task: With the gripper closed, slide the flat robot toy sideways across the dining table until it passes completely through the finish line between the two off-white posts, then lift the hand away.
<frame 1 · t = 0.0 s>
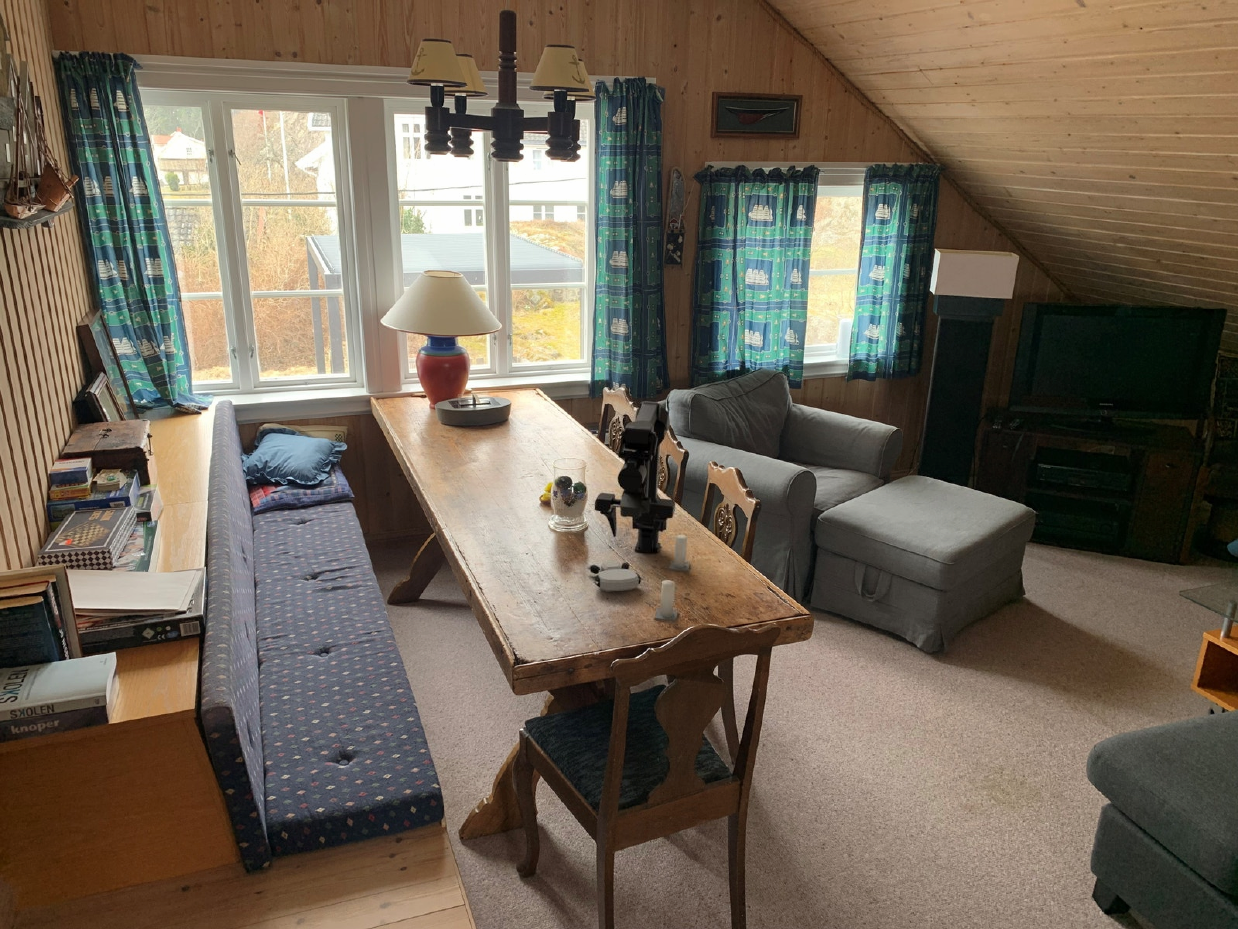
hand: (633, 538, 215), 15 cm above the table, tool pointing down, fingers open, 9 cm apart
robot toy: (614, 585, 224), on the table
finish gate: (673, 590, 222), on the table
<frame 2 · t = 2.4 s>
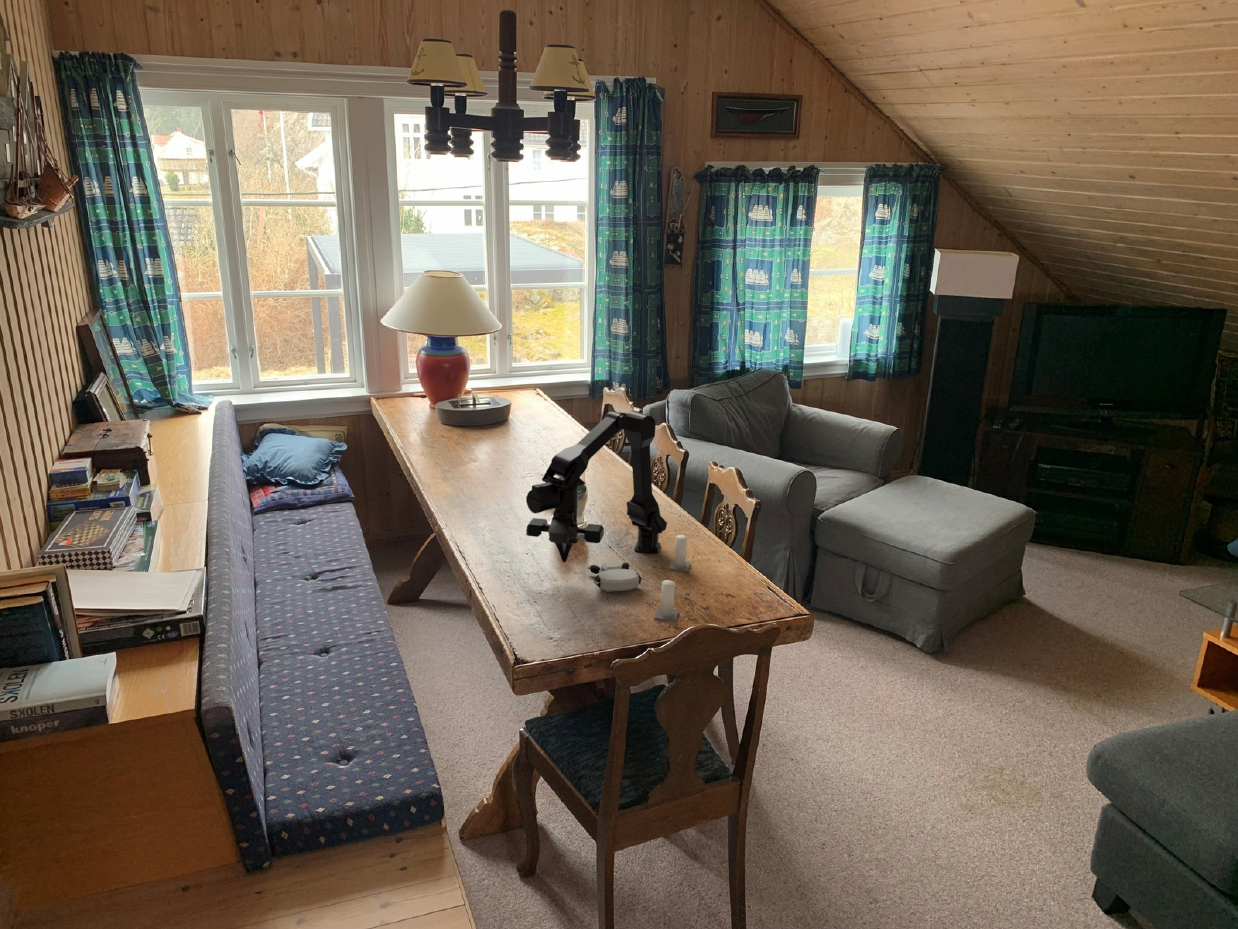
hand: (564, 561, 225), 4 cm above the table, tool pointing down, fingers closed
nothing on the table moved.
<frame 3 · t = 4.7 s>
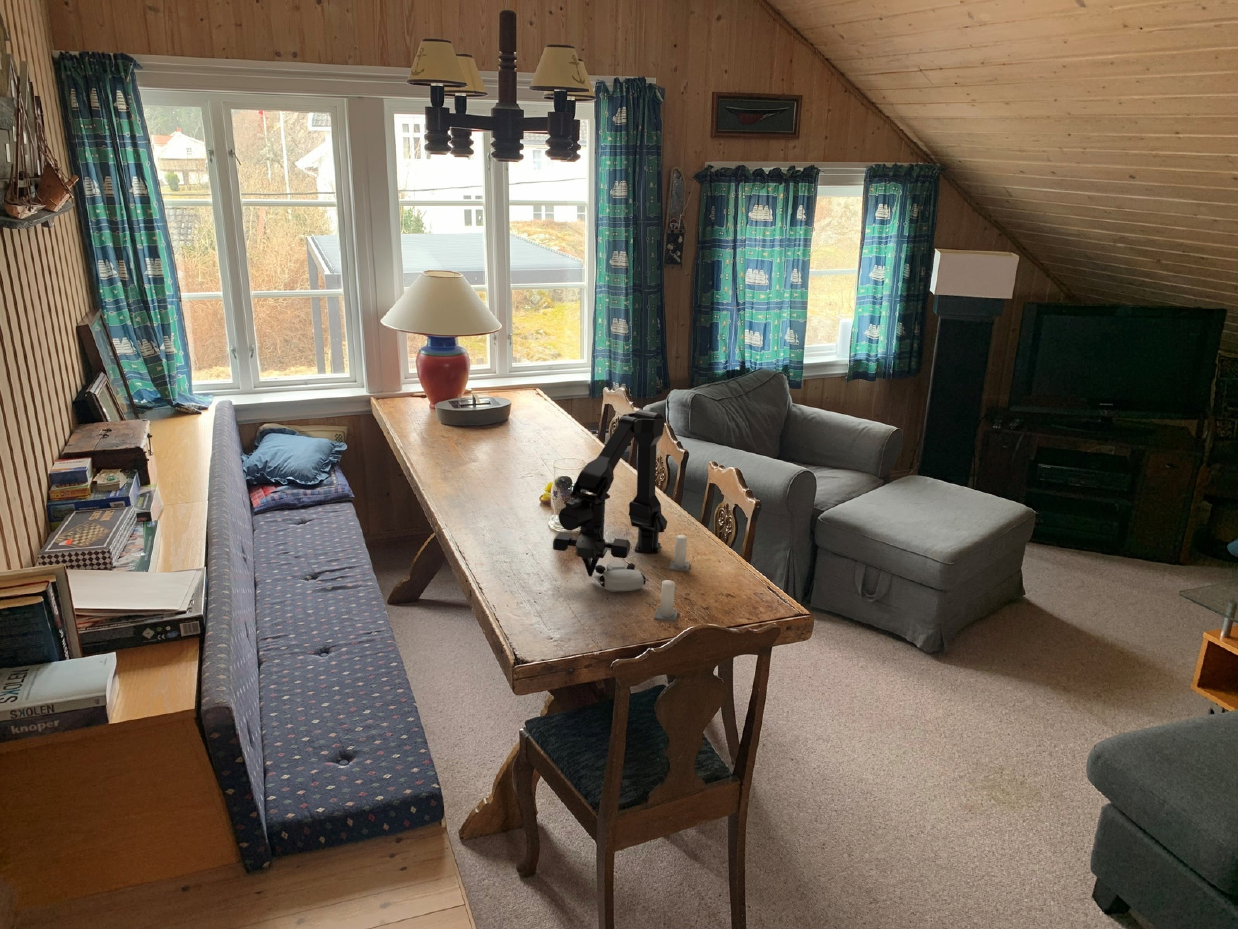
hand: (590, 576, 225), 1 cm above the table, tool pointing down, fingers closed
robot toy: (619, 585, 224), on the table, touching gripper
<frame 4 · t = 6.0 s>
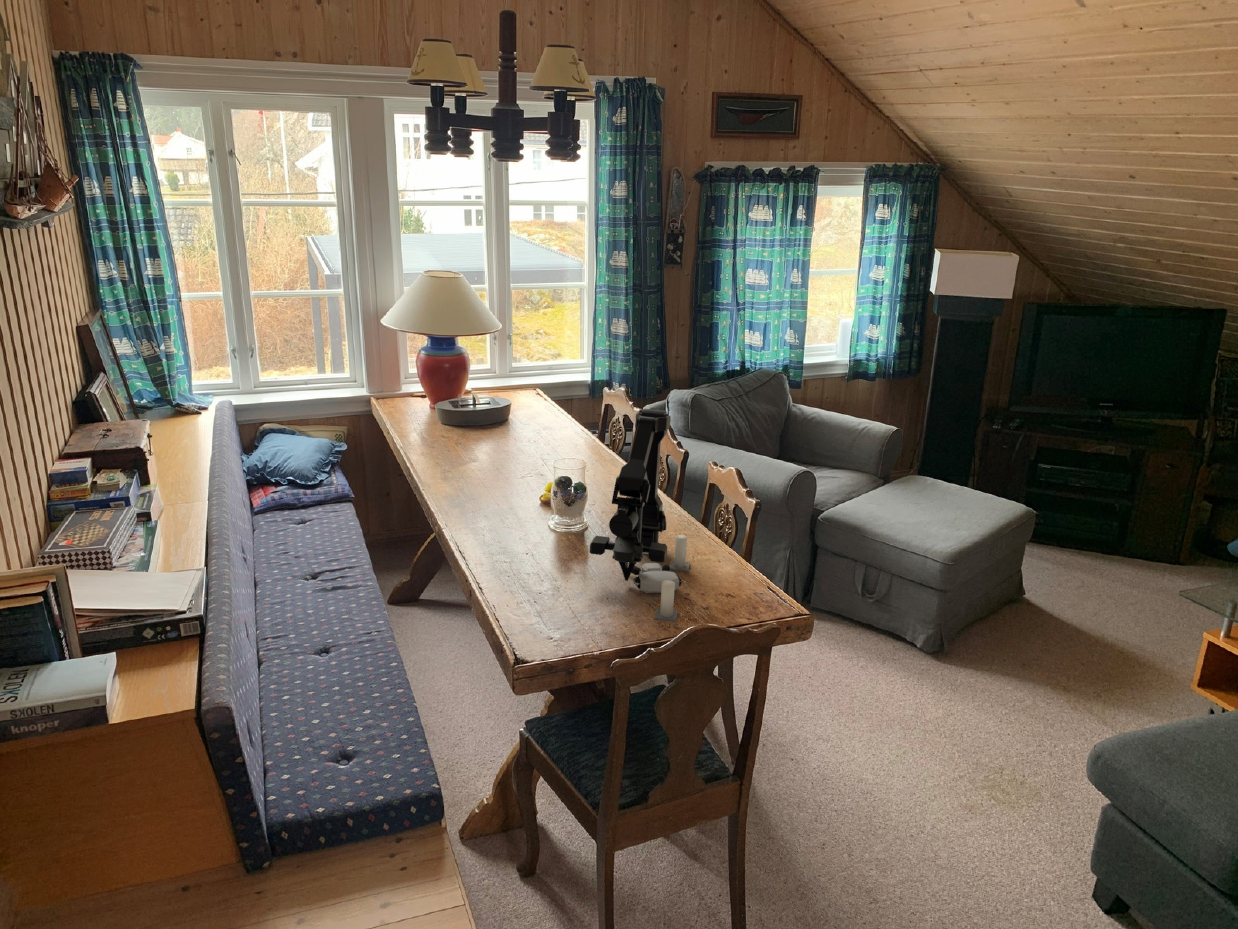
hand: (626, 580, 223), 1 cm above the table, tool pointing down, fingers closed
robot toy: (654, 586, 224), on the table
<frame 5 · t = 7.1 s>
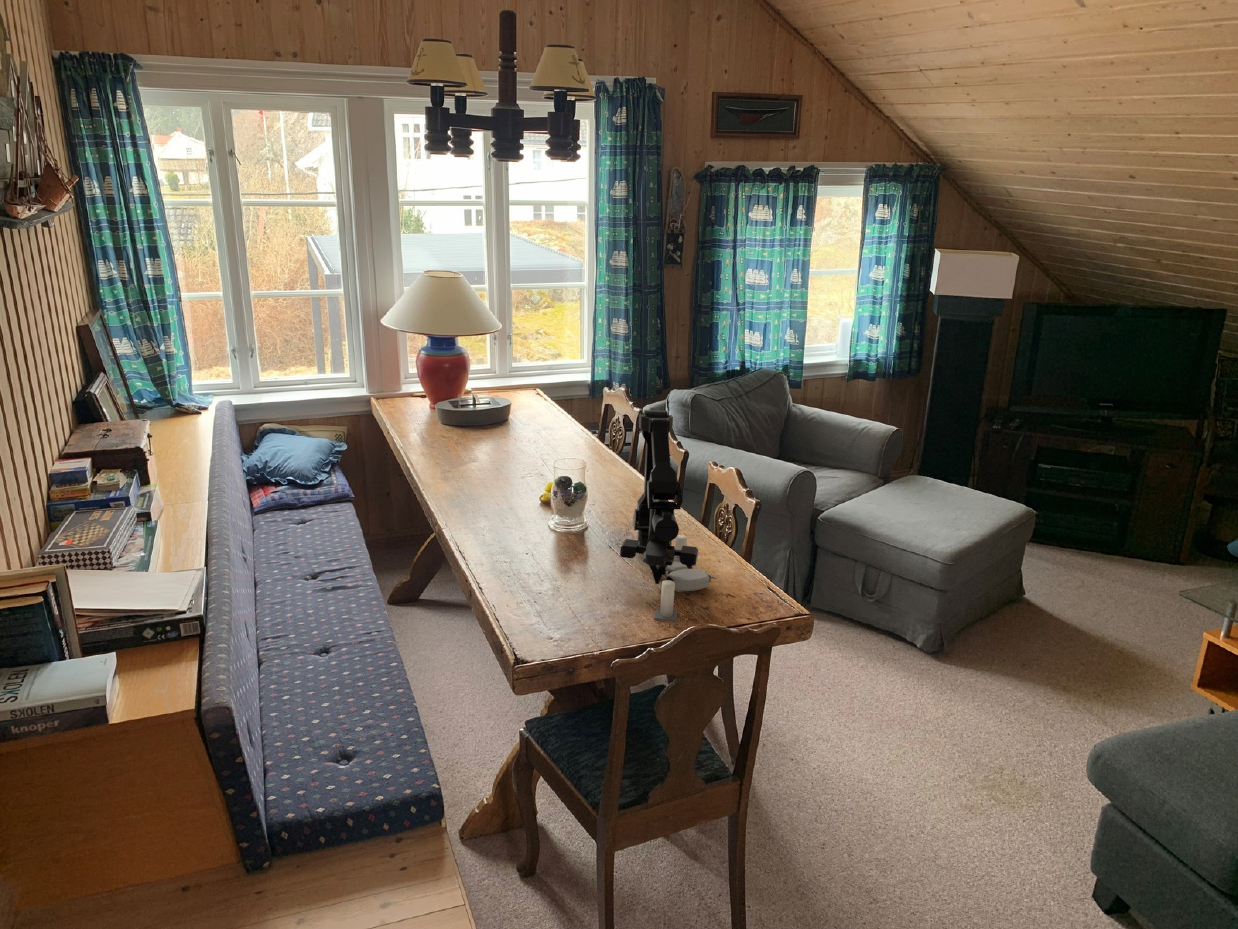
hand: (657, 583, 222), 1 cm above the table, tool pointing down, fingers closed
robot toy: (682, 585, 226), on the table, touching gripper
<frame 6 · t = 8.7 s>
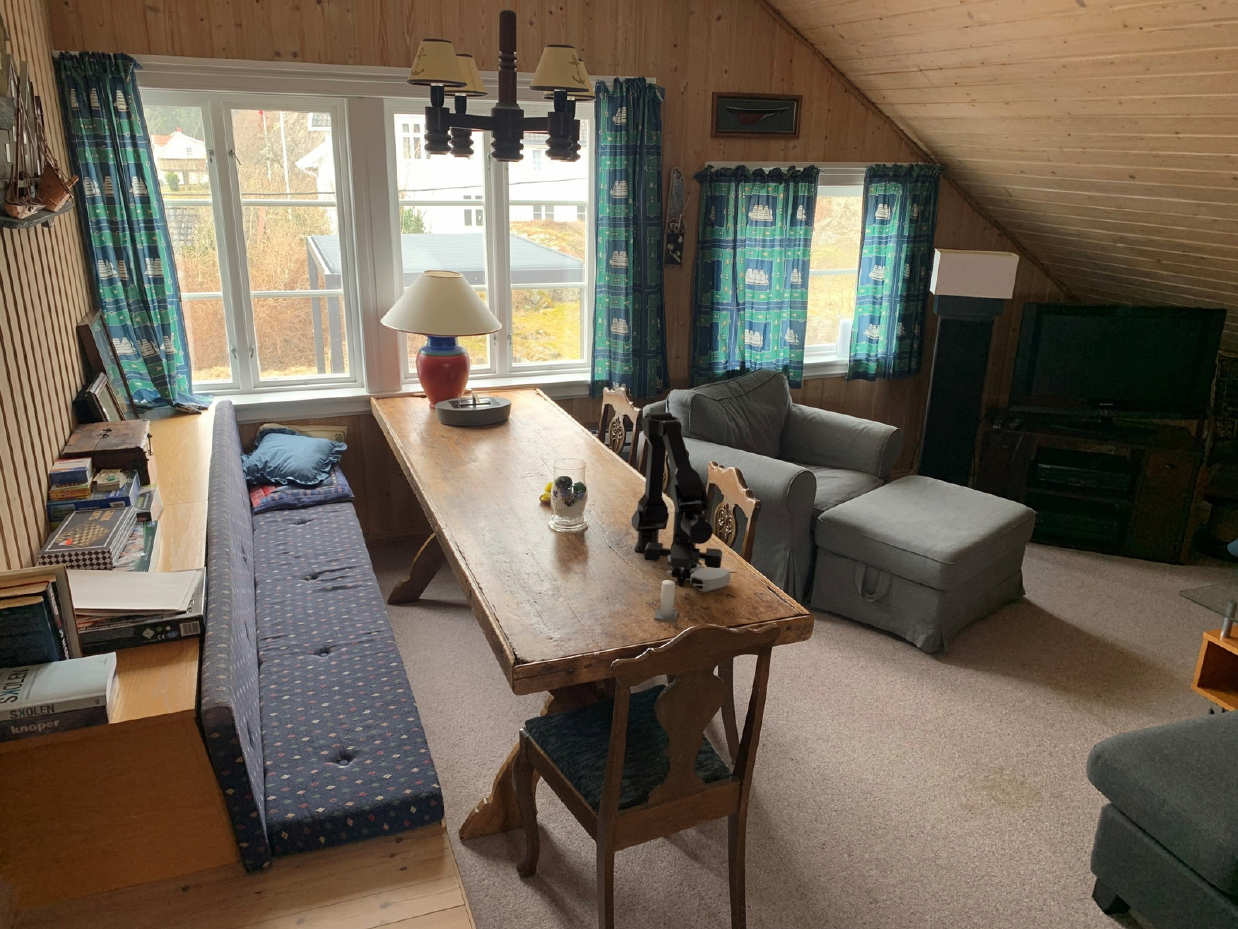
hand: (681, 586, 221), 1 cm above the table, tool pointing down, fingers closed
robot toy: (700, 584, 226), on the table, touching gripper
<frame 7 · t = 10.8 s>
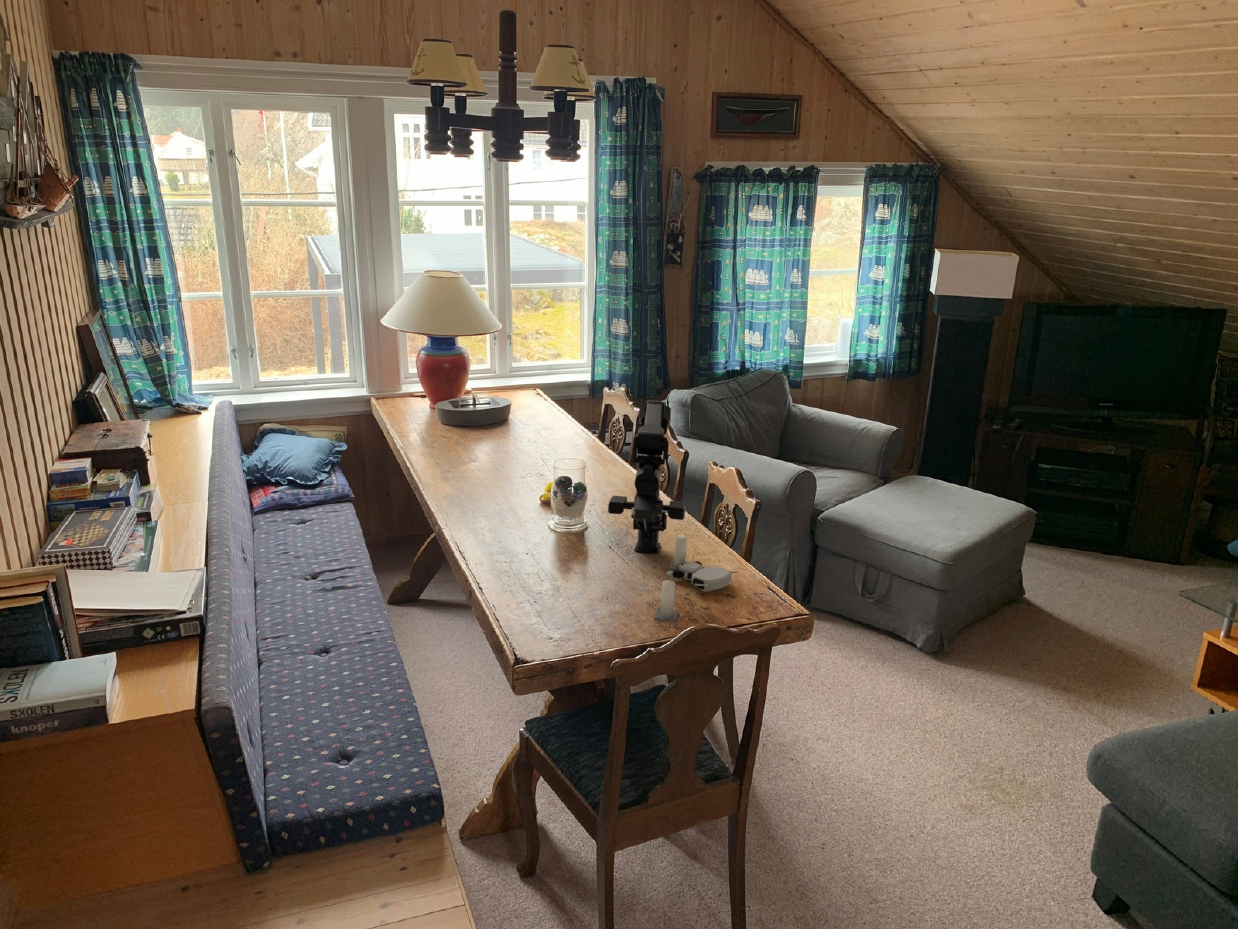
hand: (645, 539, 222), 12 cm above the table, tool pointing down, fingers closed
robot toy: (701, 584, 227), on the table
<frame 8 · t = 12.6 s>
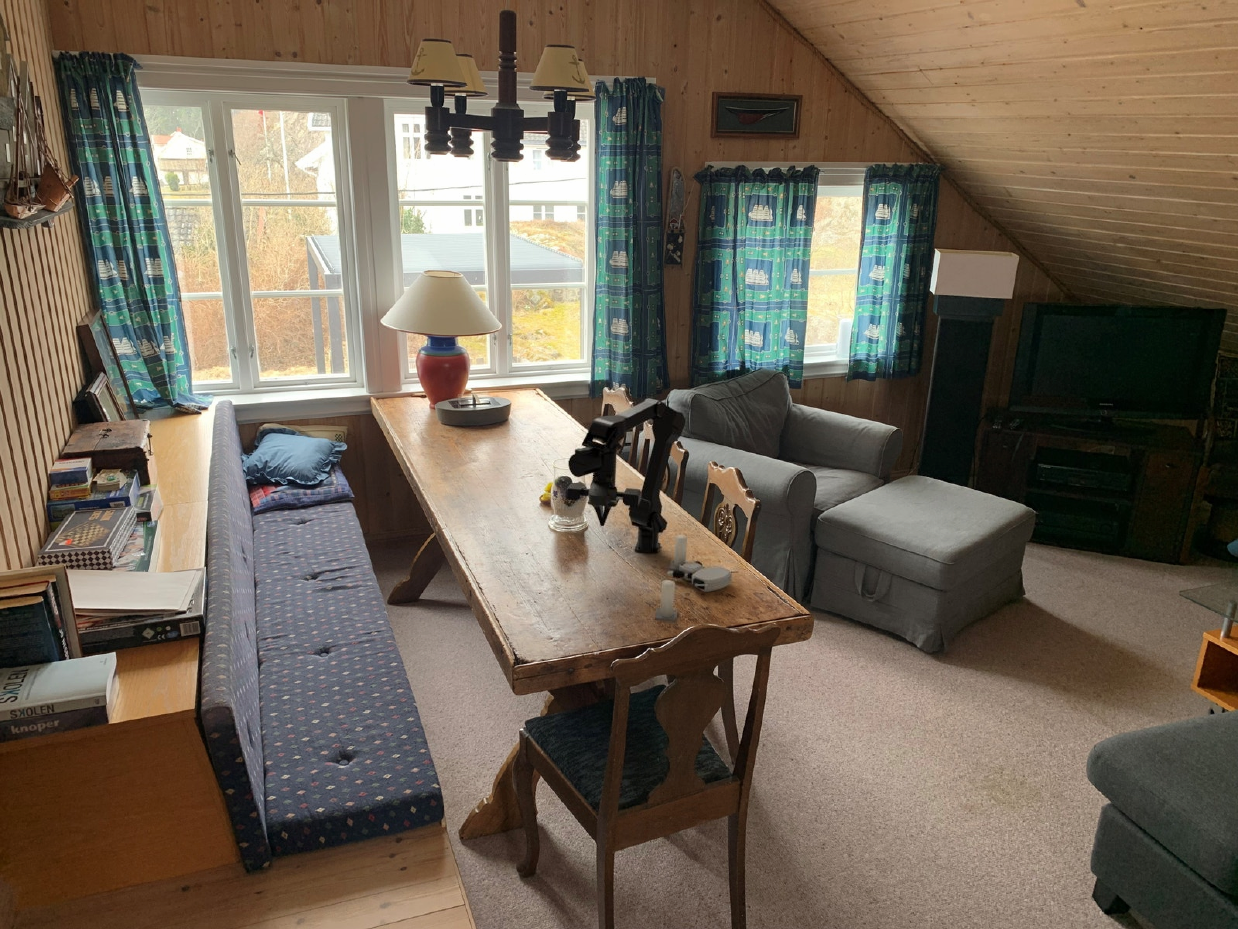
hand: (602, 525, 229), 12 cm above the table, tool pointing down, fingers closed
nothing on the table moved.
at the end: robot toy inside the target area (9.7 cm from its centre), on the table; robot toy moved 22.3 cm from its start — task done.
